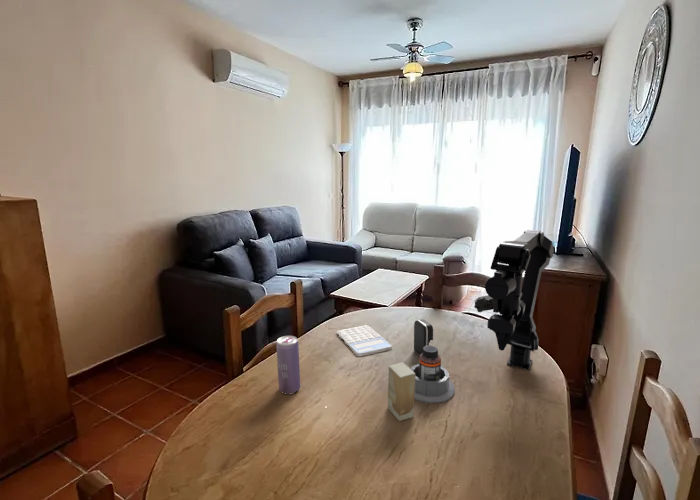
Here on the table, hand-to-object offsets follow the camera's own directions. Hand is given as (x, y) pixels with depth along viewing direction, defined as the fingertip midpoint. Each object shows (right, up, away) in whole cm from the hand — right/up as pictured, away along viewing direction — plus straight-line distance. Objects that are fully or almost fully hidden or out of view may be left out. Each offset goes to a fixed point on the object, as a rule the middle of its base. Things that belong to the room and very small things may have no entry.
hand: (505, 343), depth 107 cm
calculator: (-38, -7, +32) cm, 50 cm away
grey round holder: (-21, -13, +2) cm, 24 cm away
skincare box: (-30, -16, -8) cm, 35 cm away
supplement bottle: (-20, -12, +2) cm, 24 cm away
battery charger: (-18, -9, +22) cm, 30 cm away
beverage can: (-60, -14, +2) cm, 61 cm away
